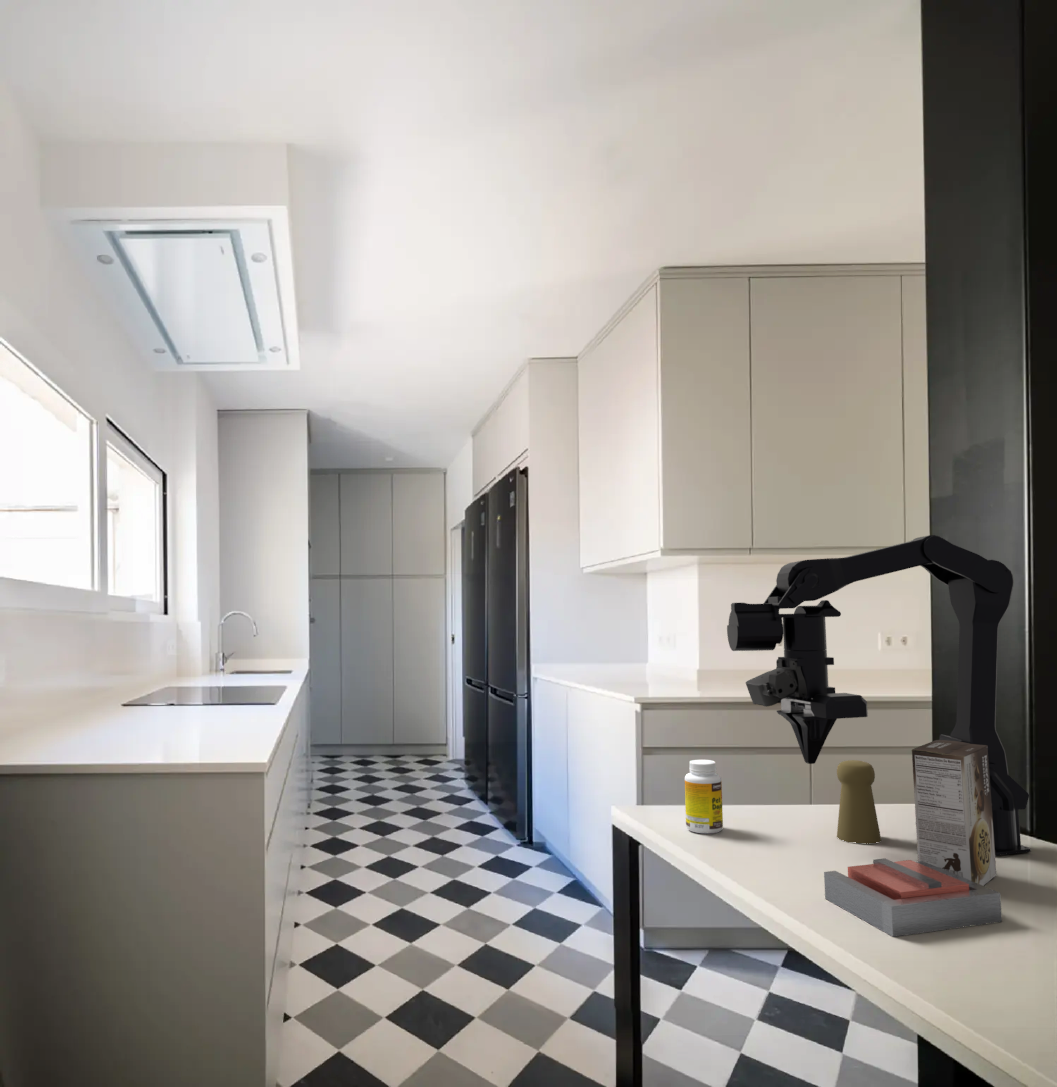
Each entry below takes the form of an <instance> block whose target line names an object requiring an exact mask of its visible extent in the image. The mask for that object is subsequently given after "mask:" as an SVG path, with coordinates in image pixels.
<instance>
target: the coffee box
mask: <svg viewBox="0 0 1057 1087" xmlns="http://www.w3.org/2000/svg"><path fill="white" fill-rule="evenodd" d="M987 747H988V746H987V745H977V744H970V743H964V742H958V741H947V740H939V739H936V740H935V739H934V740H933V741H930V742H927V743H925V744H923V745H920V746H917V747H914V748H913V749H911V758H912V760H911V761H912V775H913V796H914V809H915V810H914V811H915V812H914V813H915V830H916V833H915V834H916V850H917V862H918V861H924V862H926V863H929V864H931V865H934V866H936V867H939V868H941V869H943V870H946V871H948V872H951V873H953V874H956V875H958V876H960V877H963V878H965V879H968V880H970V881H973V882H975V883H978V884H980V885H982V886H985V885H986V884H987V883H989V882H991V880H992V879H994V878H995V876H997V871H998V870H997V865H996V864H997V860H996V856H995V847H994V832H993V819H992V803H991V789H990V775H989V762H988V749H987Z"/></svg>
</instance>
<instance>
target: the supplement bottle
mask: <svg viewBox="0 0 1057 1087" xmlns="http://www.w3.org/2000/svg"><path fill="white" fill-rule="evenodd" d="M716 763H717V762H716V761H714V760H712V759H692V760H689V768H688V769H689V772H688V773H686V775H685V776H684V800H685V801H684V802H685V803H684V804H685V805H684V806H685V827H686V829H687V830H689V831H690V832H693V833H697V834H706V835H707V834H709V835H710V834H717V833H719V832H722V830H723V828H724V820H723V819H724V818H723V815H724V813H723V787H722V784H723V783H722V782H723V781H722V776H721V775H719V774H718V773H716V772H717V764H716Z"/></svg>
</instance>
